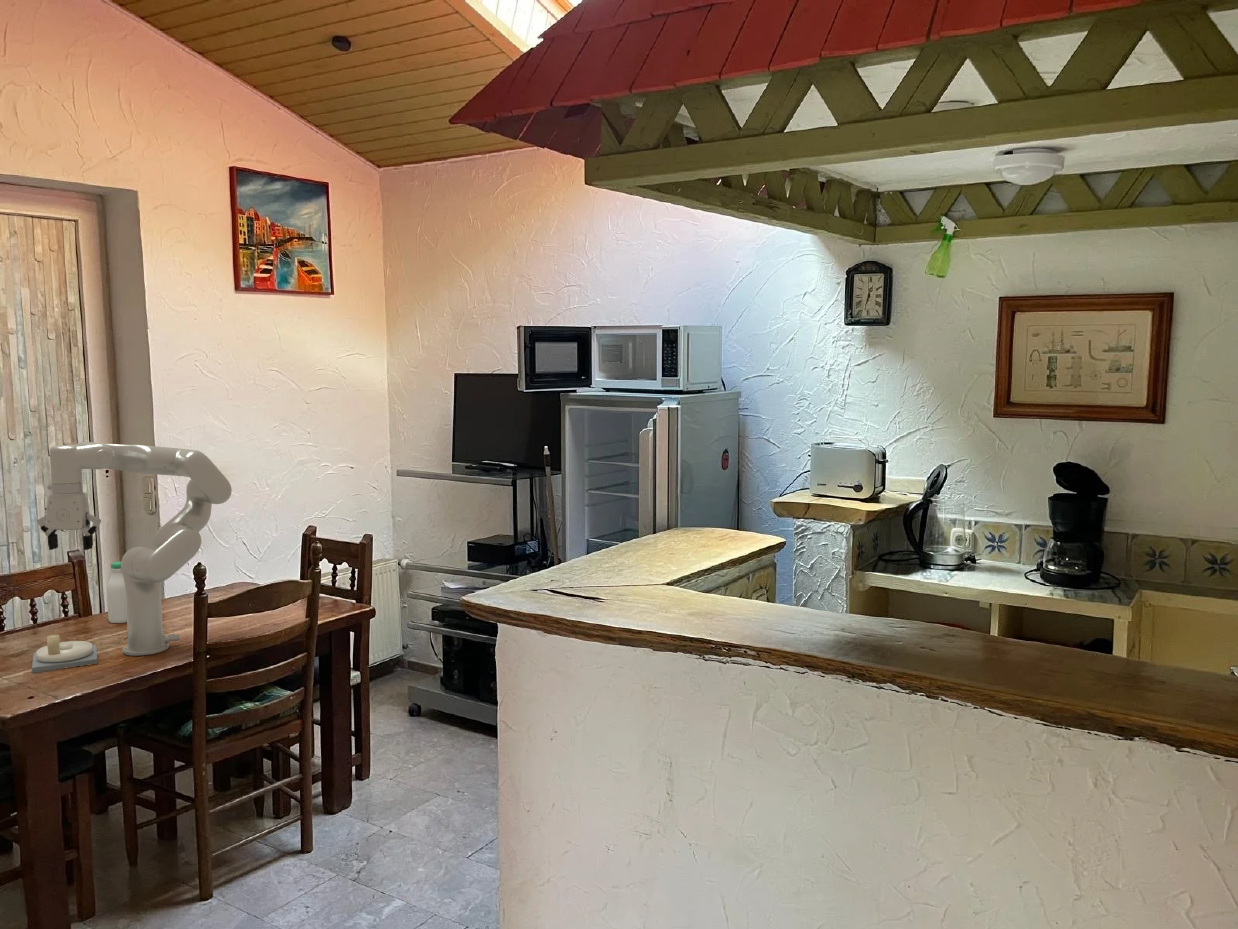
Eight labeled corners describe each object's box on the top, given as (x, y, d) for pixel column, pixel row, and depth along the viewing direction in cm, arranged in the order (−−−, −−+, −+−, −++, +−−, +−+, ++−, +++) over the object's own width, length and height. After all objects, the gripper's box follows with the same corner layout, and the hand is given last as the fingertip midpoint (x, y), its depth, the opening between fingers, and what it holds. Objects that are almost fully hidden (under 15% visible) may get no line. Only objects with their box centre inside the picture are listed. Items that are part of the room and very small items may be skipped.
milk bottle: (120, 624, 306) (117, 565, 303) (103, 622, 308) (100, 564, 306) (139, 618, 313) (136, 561, 311) (122, 616, 315) (119, 559, 313)
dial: (27, 657, 265) (25, 633, 265) (76, 644, 277) (74, 622, 277) (53, 665, 258) (52, 641, 258) (102, 652, 270) (101, 629, 270)
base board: (96, 649, 279) (96, 644, 279) (97, 664, 265) (97, 659, 265) (34, 657, 271) (33, 652, 271) (32, 673, 257) (31, 667, 257)
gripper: (28, 490, 253) (31, 551, 255) (90, 491, 254) (94, 551, 255) (44, 487, 261) (48, 546, 263) (105, 487, 261) (108, 546, 263)
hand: (70, 549), depth 259 cm, fingers open, 9 cm apart
